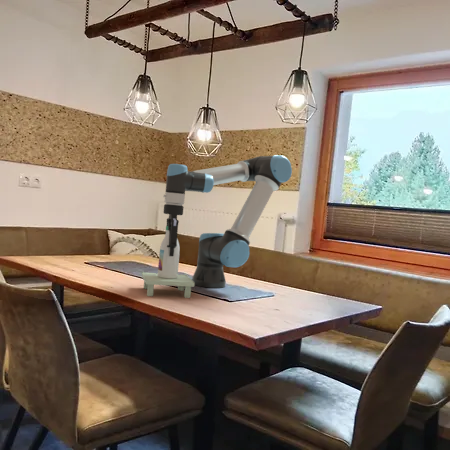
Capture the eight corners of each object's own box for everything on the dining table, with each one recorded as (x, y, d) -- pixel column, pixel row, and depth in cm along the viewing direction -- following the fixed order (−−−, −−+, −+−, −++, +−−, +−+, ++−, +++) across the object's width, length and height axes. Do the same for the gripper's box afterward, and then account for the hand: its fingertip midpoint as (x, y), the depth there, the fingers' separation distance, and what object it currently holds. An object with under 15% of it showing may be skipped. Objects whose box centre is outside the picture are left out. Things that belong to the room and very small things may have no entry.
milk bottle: (179, 277, 186) (184, 226, 186) (173, 280, 179) (178, 227, 178) (161, 275, 188) (165, 224, 187) (154, 277, 180) (159, 225, 180)
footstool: (184, 289, 195) (186, 274, 195) (193, 298, 177) (194, 282, 177) (140, 287, 190) (142, 272, 190) (144, 296, 173) (146, 280, 172)
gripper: (160, 203, 191) (155, 259, 192) (168, 203, 171) (162, 266, 172) (179, 204, 193) (174, 260, 194) (188, 205, 173) (182, 267, 174)
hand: (168, 263), depth 183 cm, fingers closed on milk bottle, 8 cm apart
